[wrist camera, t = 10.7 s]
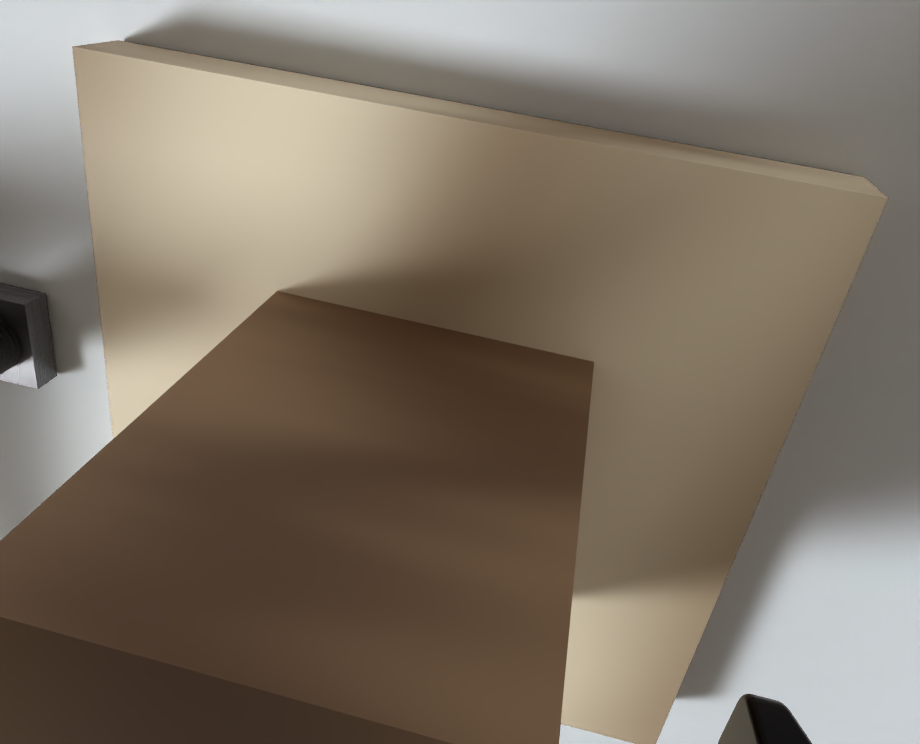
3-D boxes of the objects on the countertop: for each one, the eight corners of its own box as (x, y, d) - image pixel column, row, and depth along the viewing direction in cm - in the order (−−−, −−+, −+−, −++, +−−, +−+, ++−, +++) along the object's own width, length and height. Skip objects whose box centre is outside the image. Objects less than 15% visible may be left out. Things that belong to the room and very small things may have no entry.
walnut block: (594, 362, 10) (556, 773, 5) (529, 600, 12) (456, 1057, 7) (277, 291, 11) (-64, 598, 5) (269, 533, 13) (22, 918, 8)
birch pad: (864, 177, 9) (888, 198, 8) (652, 700, 14) (653, 748, 13) (118, 40, 10) (72, 46, 10) (158, 572, 15) (130, 608, 14)
